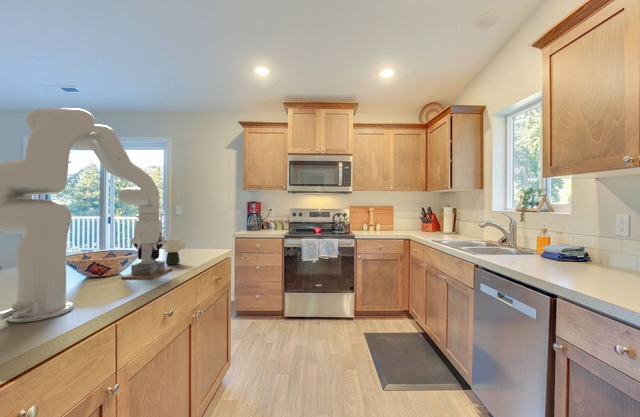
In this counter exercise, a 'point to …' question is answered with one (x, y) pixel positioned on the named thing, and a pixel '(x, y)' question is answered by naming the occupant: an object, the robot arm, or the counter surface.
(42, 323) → the counter surface
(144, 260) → the energy drink
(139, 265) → the can holder
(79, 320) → the counter surface
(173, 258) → the character mug
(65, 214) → the robot arm
